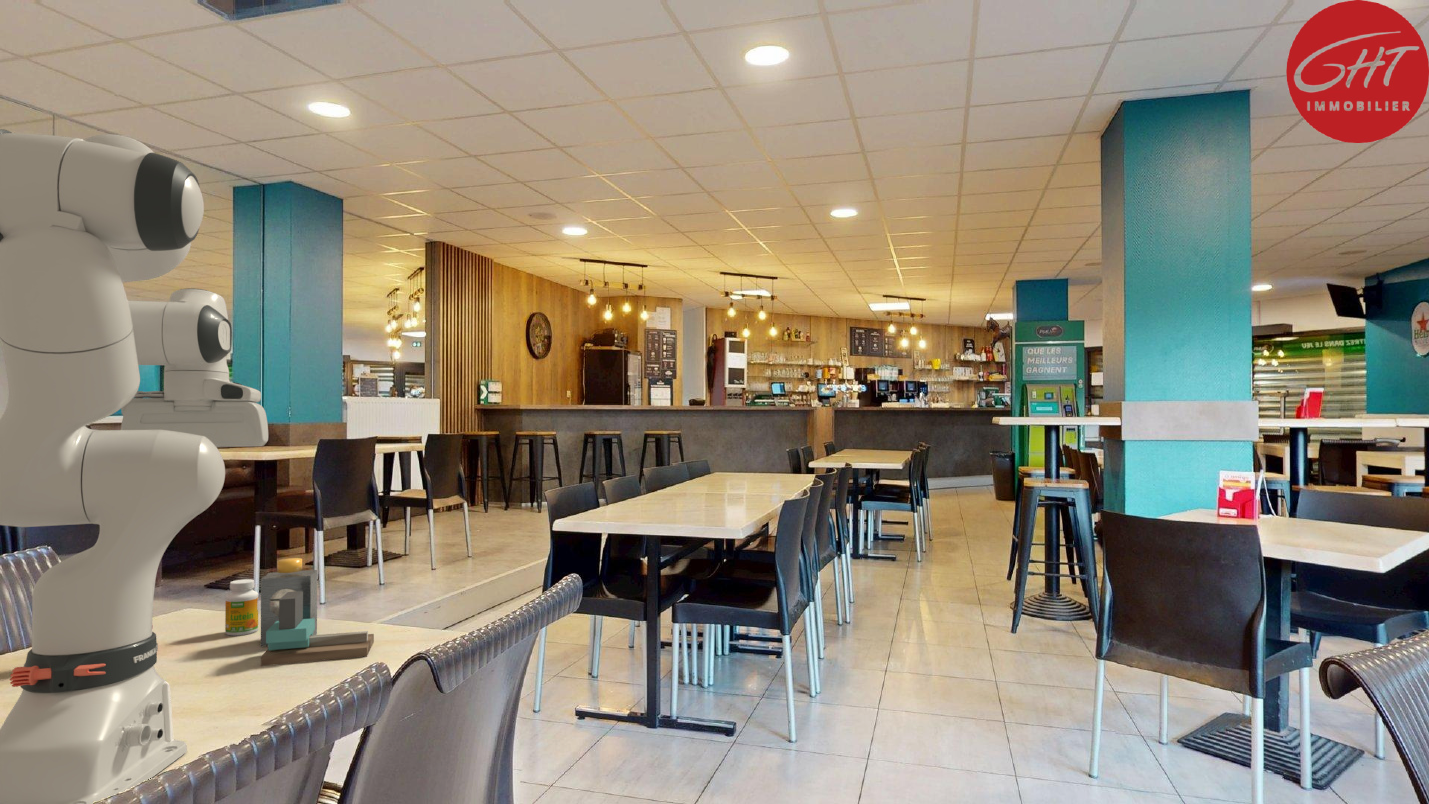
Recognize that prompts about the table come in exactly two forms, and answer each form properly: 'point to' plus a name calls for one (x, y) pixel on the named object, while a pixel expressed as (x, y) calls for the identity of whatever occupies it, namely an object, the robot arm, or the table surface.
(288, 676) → the table surface
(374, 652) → the table surface
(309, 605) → the cabinet
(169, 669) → the table surface
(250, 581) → the supplement bottle
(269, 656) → the rail board
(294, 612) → the carriage
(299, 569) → the button
